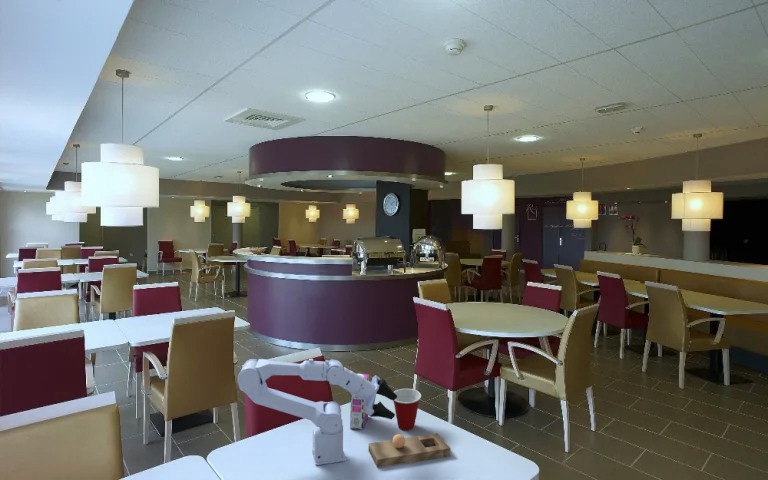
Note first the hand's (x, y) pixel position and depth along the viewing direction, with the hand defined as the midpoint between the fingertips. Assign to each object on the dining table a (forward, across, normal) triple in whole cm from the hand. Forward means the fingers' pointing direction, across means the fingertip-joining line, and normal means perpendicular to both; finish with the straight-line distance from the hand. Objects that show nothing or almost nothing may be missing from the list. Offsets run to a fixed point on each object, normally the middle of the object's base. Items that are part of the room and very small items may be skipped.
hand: (394, 407), depth 138 cm
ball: (+6, -6, +6) cm, 10 cm away
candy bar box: (+1, +11, +25) cm, 28 cm away
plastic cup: (+14, +10, +15) cm, 23 cm away
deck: (+12, -6, +8) cm, 15 cm away
